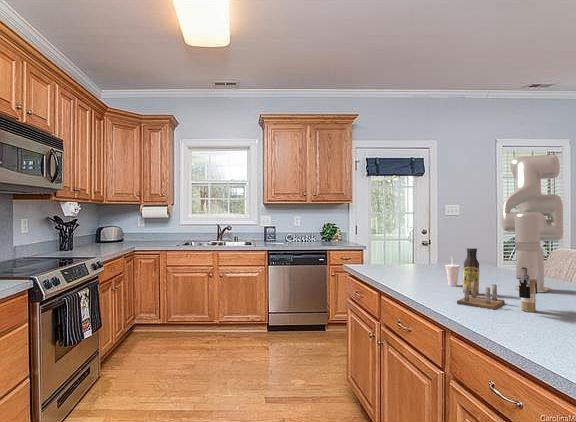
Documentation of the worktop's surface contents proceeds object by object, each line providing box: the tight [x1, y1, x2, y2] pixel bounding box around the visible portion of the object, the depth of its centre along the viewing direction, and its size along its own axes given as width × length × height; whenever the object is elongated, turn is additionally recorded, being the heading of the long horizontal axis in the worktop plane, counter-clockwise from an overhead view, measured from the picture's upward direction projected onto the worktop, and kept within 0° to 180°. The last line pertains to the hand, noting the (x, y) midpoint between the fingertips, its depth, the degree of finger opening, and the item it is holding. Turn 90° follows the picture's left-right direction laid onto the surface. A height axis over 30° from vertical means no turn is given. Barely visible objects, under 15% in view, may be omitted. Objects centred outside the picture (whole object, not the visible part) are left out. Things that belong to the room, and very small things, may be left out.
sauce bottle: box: [462, 247, 480, 296], centre depth 164 cm, size 6×6×20 cm
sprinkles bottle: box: [520, 272, 537, 313], centre depth 135 cm, size 5×5×14 cm
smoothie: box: [444, 255, 461, 287], centre depth 183 cm, size 6×6×14 cm
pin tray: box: [456, 282, 506, 311], centre depth 147 cm, size 13×13×7 cm
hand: (528, 295), depth 135 cm, fingers open, 9 cm apart
